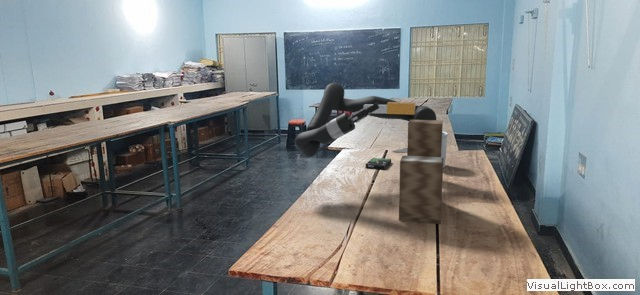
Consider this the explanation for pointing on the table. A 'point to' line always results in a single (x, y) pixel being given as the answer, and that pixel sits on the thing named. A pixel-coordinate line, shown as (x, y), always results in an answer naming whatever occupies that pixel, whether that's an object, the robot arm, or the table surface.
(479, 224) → the table surface
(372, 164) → the disk drive
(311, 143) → the robot arm
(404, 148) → the paper plane
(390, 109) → the bar
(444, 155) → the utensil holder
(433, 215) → the zigzag patterned block
